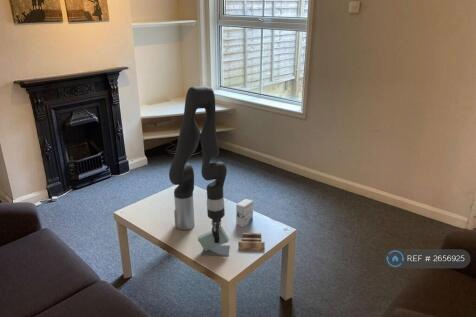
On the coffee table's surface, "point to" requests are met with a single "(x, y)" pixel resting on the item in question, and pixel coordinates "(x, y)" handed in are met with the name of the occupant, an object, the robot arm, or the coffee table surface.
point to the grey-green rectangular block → (212, 239)
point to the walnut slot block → (251, 237)
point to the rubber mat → (217, 251)
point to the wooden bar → (251, 245)
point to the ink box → (244, 212)
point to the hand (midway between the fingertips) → (217, 240)
